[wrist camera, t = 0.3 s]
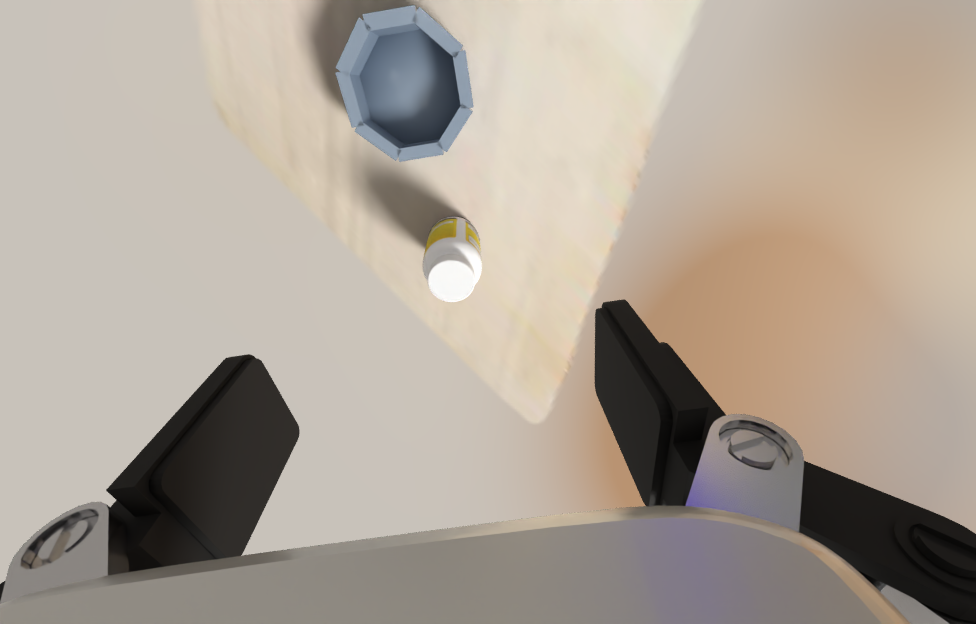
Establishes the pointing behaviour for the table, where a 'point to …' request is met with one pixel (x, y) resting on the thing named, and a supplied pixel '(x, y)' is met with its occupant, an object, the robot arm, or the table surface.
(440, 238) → the supplement bottle
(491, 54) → the table surface
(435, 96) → the bowl
